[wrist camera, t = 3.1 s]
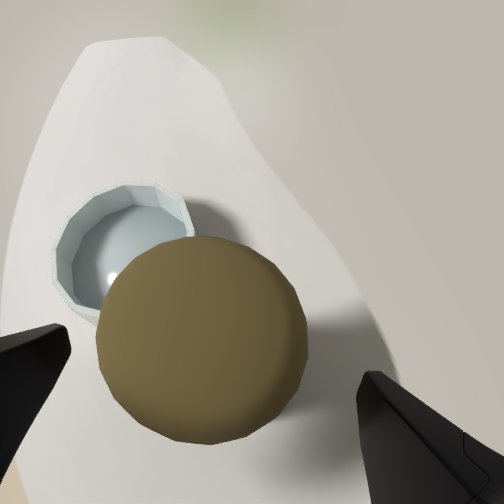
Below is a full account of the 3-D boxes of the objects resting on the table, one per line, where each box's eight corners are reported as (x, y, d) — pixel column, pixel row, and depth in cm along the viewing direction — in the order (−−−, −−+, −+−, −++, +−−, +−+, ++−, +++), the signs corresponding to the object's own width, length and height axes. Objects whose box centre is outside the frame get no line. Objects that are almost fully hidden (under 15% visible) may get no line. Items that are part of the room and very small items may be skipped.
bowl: (128, 363, 15) (107, 353, 13) (52, 271, 18) (32, 252, 15) (228, 251, 19) (226, 226, 16) (138, 188, 22) (128, 163, 19)
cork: (272, 319, 17) (306, 185, 7) (289, 421, 14) (370, 445, 4) (169, 330, 16) (75, 214, 7) (177, 432, 13) (61, 462, 4)
